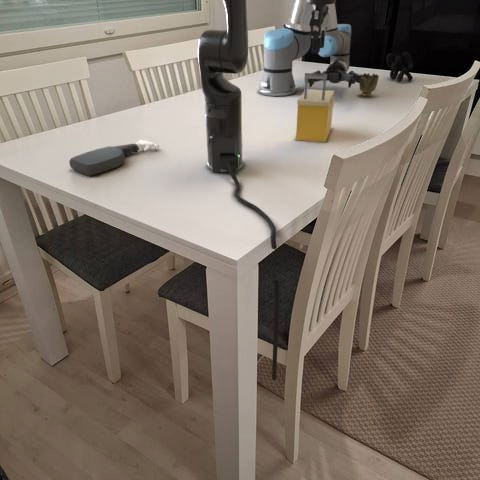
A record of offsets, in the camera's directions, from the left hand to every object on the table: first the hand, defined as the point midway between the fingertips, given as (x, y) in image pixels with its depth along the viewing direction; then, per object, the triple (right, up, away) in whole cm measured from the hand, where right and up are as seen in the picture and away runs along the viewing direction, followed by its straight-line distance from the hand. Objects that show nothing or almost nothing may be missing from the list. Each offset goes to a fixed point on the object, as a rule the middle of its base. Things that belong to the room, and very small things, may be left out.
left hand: (317, 50), depth 123 cm
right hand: (+10, +3, +34) cm, 35 cm away
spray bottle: (-56, -30, +2) cm, 63 cm away
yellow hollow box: (+2, -19, +17) cm, 26 cm away
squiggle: (+51, +20, +77) cm, 94 cm away
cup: (+29, +5, +55) cm, 62 cm away
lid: (+2, -10, +11) cm, 15 cm away
